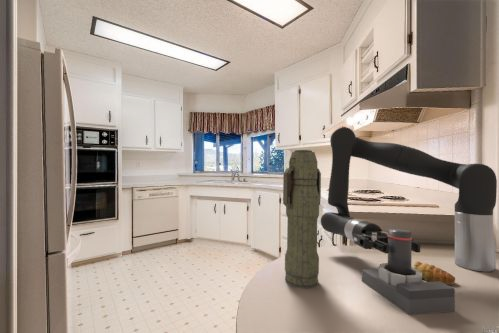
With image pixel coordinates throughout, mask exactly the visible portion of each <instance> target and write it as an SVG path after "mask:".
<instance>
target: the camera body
mask: <svg viewBox="0 0 499 333" xmlns="http://www.w3.org/2000/svg"><path fill="white" fill-rule="evenodd" d="M361 282H363V283H364V284H365V285H367V286H368V287H370V288H371V289H373V291H375V292H377V293H378V294H380V295H381V296H382V297H384V298H385V299H387V300H388V301H389V302H391V303H392V304H393V305H394V306H397V307H398V308H399V309H401V310H402V311H403V312H405V313H406V314H407V315H419V314H420V315H423V314H424V315H425V314H434V313H435V314H436V313H448V312H449V313H450V312H455V311H456V306H455V304H456V299H455V298H456V295H455V294H456V291H455V290H456V289H455V288H454V287H453V286H452V285H449V284H444V283H442V282H440V281H435V282H432V281H425V280H423V278H422V272H421V271H419V270H417V269H415V268H413V266H411V275H401V274H396V273H392V272H390V271H388V262H385V263H384V262H383V263H380V264H379V265H378V268H377V269H376V268H375V269H373V268H372V269H361Z"/></svg>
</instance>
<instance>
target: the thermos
mask: <svg viewBox="0 0 499 333" xmlns="http://www.w3.org/2000/svg"><path fill="white" fill-rule="evenodd" d="M282 184H283V186H282V187H283V188H282V190H283V191H282V192H283V194H282V204H283V205H284V206H285V215H286V217H287V228H286V230H287V232H286V233H287V234H286V235H287V237H286V238H287V239H286V240H287V241H286V251H285V253H284V270H285V271H284V272H285V277H284V278H285V280H284V281H285V282H286V283H287V284H289V285H290V286H292V287H295V288H301V289H311V288H315V287H317V286H318V285H319V277H318V276H319V274H320V271H319V270H320V256H319V253H318V219H319V216H320V205H321V196H322V194H321V193H322V191H321V190H322V187H321V186H322V172H321V171H320V169H319V168H318V160H317V156H316V152H315V151H313V150H310V149H298V150H294V151H293V152H291V155H290V157H289V161H288V167H287V168H286V169H285V170H284V172H283V182H282Z"/></svg>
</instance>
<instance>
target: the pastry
mask: <svg viewBox="0 0 499 333" xmlns="http://www.w3.org/2000/svg"><path fill="white" fill-rule="evenodd" d="M412 268H415V269H417V270H419V271H421V272H422V280H424V281H426V282H435V281H440V282H442V283H444V284H447V285H449V286H452V285H454V284H455V282H456V277H455V276H453V274H451V273H449V272H447V271H446V270H443V269H442V268H440V267H437V266H435V265H433V264H428V263H426V262H425V263H422V262H421V261H416V262H415V263H414V265H413V266H412Z"/></svg>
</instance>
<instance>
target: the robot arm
mask: <svg viewBox="0 0 499 333" xmlns="http://www.w3.org/2000/svg"><path fill="white" fill-rule="evenodd" d="M329 139H330V141H329V142H330V147H331V154H332V156H331V159H332V160H331V162H332V163H331V170H330V172H331V173H330V179H329V184H328V185H329V186H328V193H327V194H328V195H327V203H328V205H330V206H332V207H335V209H336V210H337V212H330V211H327V212H325V213H323V214H322V215H321V217H320V225H321V227H322V229H323V230H325V231H326V232H328V233H330V234H336V235H339V236H342V237H343V238H347V239H348V240H350V242H351V241H352V242H353V244H356V245H357V246H359V247H360V248H362V249H363V250H364V249H365V250H373V251H376V250H377V251H379V252H380V253H383V254H388V253H389V245H388V237H387V234H388V231H387V232H386V231H383V230H382V228H381V227H380V226H379V225H378V224H376V223H373V222H371V221H367V220H363V219H359V218H355V217H351V215H350V211H349V204H348V203H349V202H348V199H349V189H350V188H349V184H350V167H351V166H350V165H351V159H352V157H353V158H358V159H362V160H366V161H369V162H371V163H374V164H377V165H380V166H382V167H385V168H388V169H391V170H394V171H398V172H402V173H406V174H408V175H414V176H418V177H423V178H429V179H432V180H435V181H438V182H441V183H442V184H443V183H444V184H446V185H448V186H451V187H454V188H455V189H458V198H457V201H456V202H455V203H454V263H455V265H457V266H459V267H462V268H465V269H467V270H472V271H478V272H486V273H491V272H494V270H496V269H497V266H496V265H497V260H496V259H497V258H496V257H497V256H496V246H497V244H496V239H495V237H494V209H495V207H496V204H497V192H498V190H497V189H498V188H497V187H498V186H497V185H498V179H497V176H496V173H495V171H494V170H493V169H492V167H490V166H489V165H488V164H487V165H486V164H483V163H467V164H466V163H458V162H452V161H448V160H444V159H440V158H437V157H435V156H433V155H432V154H429V153H427V152H425V151H422V150H420V149H417V148H415V147H410V146H407V145H404V144H400V143H394V142H377V141H376V142H375V141H369V140H366V139H363V138H359V137H357V136H356V134H355V132H354V131H353V130H352V129H351V128H350V127H346V126H342V127H338V128H336V129H335V130H334V131H333V132H332V133H331V135H330V138H329ZM411 252H414V253H421V244H420V243H418V242H416V241H414V237H412V240H411Z"/></svg>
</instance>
